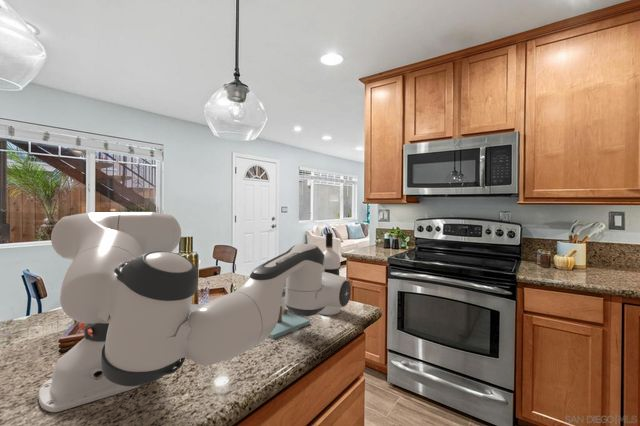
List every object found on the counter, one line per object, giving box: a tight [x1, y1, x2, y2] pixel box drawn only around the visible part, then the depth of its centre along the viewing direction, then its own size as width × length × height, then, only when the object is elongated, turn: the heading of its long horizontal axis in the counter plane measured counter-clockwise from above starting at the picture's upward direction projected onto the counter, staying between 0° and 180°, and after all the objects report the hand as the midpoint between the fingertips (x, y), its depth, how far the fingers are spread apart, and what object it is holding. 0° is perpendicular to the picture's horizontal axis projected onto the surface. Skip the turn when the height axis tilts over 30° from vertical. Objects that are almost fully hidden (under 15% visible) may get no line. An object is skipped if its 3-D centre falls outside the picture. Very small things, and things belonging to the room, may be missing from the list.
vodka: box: [317, 232, 342, 316], centre depth 115 cm, size 9×9×30 cm
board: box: [267, 306, 311, 340], centre depth 103 cm, size 16×14×6 cm
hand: (277, 275), depth 103 cm, fingers closed on sleeve, 6 cm apart
